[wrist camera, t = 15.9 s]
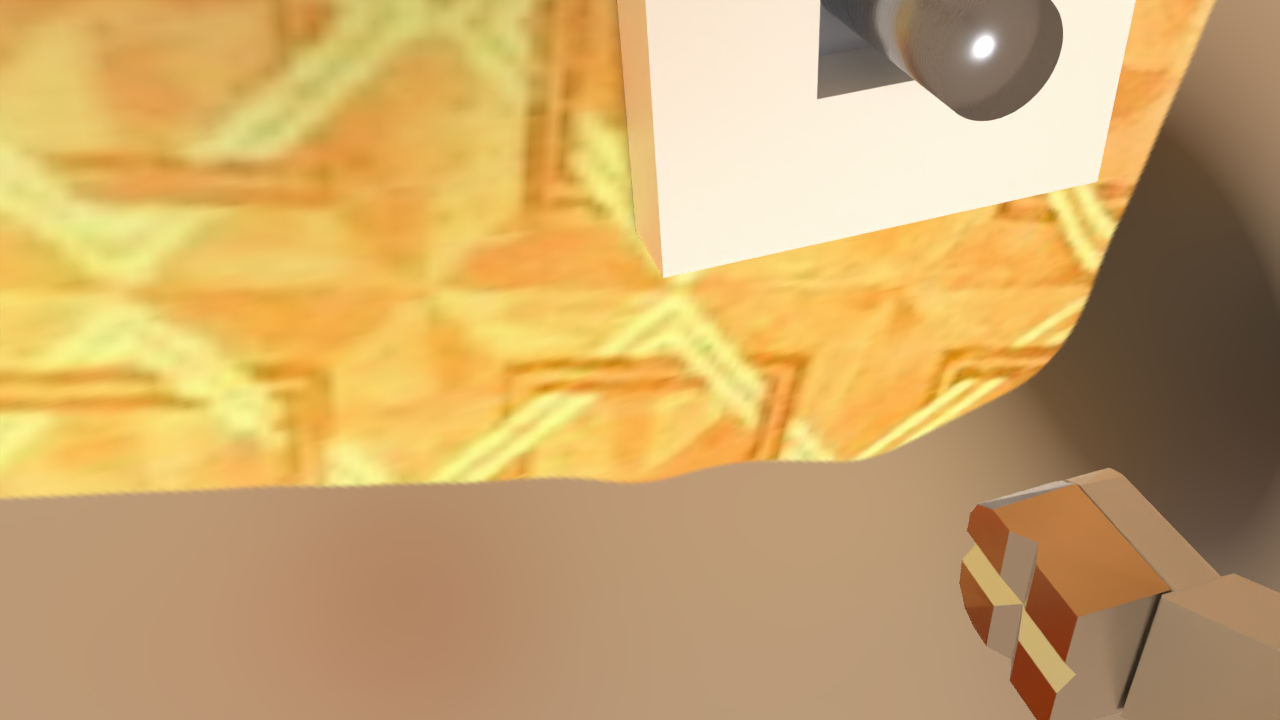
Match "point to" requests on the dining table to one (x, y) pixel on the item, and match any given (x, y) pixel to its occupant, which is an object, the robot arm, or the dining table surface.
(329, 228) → the dining table surface
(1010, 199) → the housing
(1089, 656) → the robot arm
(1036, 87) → the steel peg
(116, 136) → the dining table surface
